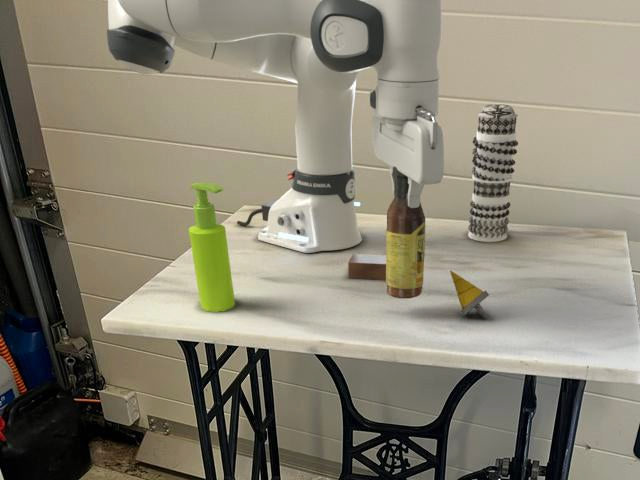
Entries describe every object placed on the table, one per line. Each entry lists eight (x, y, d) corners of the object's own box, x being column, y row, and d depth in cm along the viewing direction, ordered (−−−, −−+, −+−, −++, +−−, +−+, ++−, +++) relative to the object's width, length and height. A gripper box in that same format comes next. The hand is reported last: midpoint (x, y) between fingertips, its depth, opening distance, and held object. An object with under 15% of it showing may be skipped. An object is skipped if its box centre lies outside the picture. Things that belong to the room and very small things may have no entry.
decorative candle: (482, 245, 154) (493, 111, 139) (458, 233, 160) (465, 104, 145) (517, 238, 157) (531, 107, 142) (491, 227, 164) (503, 101, 149)
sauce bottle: (424, 300, 120) (430, 171, 108) (386, 300, 120) (387, 171, 108) (421, 285, 125) (426, 160, 113) (384, 286, 125) (386, 160, 113)
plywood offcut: (348, 278, 138) (348, 262, 136) (352, 269, 142) (352, 253, 140) (390, 280, 137) (390, 264, 135) (393, 271, 141) (393, 255, 139)
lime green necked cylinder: (223, 315, 124) (206, 190, 112) (193, 307, 127) (173, 184, 115) (246, 304, 128) (231, 182, 116) (216, 296, 131) (199, 177, 119)
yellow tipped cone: (474, 328, 121) (437, 279, 120) (473, 329, 126) (438, 282, 125) (500, 307, 120) (463, 258, 118) (498, 309, 125) (462, 262, 124)
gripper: (458, 111, 98) (451, 218, 107) (402, 90, 114) (401, 184, 122) (414, 114, 97) (412, 222, 105) (364, 92, 112) (365, 188, 120)
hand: (405, 202), depth 114 cm, fingers closed on sauce bottle, 4 cm apart
